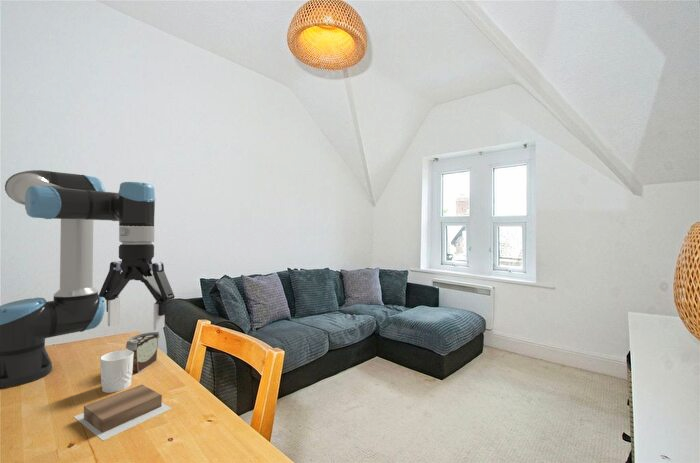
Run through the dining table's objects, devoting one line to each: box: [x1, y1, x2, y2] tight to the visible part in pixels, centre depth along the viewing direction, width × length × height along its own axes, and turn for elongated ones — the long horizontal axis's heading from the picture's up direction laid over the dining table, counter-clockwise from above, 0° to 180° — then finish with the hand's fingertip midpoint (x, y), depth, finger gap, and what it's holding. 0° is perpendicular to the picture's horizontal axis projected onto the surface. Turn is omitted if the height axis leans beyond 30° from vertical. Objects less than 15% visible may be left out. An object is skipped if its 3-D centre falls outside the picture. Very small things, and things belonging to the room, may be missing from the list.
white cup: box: [99, 349, 134, 394], centre depth 92 cm, size 8×8×10 cm
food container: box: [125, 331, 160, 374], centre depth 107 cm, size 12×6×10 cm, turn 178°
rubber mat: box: [73, 402, 173, 441], centre depth 80 cm, size 16×15×1 cm
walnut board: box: [83, 384, 163, 433], centre depth 80 cm, size 10×13×3 cm
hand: (136, 326), depth 81 cm, fingers open, 13 cm apart
